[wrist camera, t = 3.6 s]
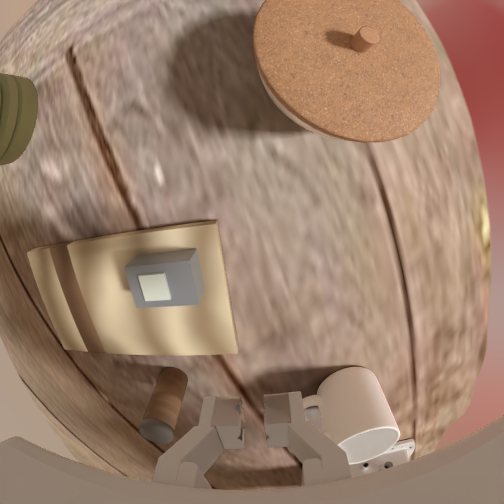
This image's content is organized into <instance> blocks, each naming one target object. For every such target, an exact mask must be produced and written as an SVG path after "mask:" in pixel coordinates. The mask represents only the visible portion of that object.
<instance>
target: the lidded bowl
mask: <svg viewBox="0 0 504 504" xmlns="http://www.w3.org/2000/svg"><path fill="white" fill-rule="evenodd" d="M253 49H254V55H255V60H256V63H257V67H258V72H259V75H260V78H261V81H262V83H263V85H264V87H265V89H266V91H267V93H268V94H269V96H270V98H271V99H272V100H273V102H274V103H275V104H276V106H277V107H278V108H279V109H280V110H281V111H282V112H283V113H284V114H285V115H286V116H287V117H289V118H290V119H291V120H293V121H294V122H295V123H296V124H298V125H300V126H302V127H303V128H305V129H307V130H309V131H311V132H314V133H316V134H318V135H321V136H325V137H329V138H332V139H336V140H344V141H355V142H384V141H389V140H395V139H397V138H400V137H403V136H405V135H407V134H409V133H411V132H412V131H414V130H415V129H417V128H418V127H419V126H420V125H421V124H422V123H423V122H424V121H425V120H426V119H427V118H428V116H429V115H430V113H431V112H432V110H433V108H434V105H435V103H436V101H437V97H438V93H439V87H440V71H439V63H438V59H437V55H436V52H435V49H434V47H433V44H432V42H431V40H430V38H429V36H428V34H427V33H426V31H425V29H424V28H423V26H422V25H421V24H420V22H419V21H418V19H417V18H416V17H415V16H414V15H413V14H412V13H411V12H410V11H409V10H408V9H407V8H406V7H405V6H404V5H403V4H402V3H401V2H399V1H398V0H265V1H264V3H263V4H262V5H261V7H260V9H259V11H258V13H257V15H256V19H255V23H254V27H253Z"/></svg>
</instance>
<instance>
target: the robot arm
mask: <svg viewBox="0 0 504 504" xmlns="http://www.w3.org/2000/svg"><path fill="white" fill-rule="evenodd" d="M264 409H265V410H264V427H265V434H266V440H267V445H268V447H286V446H288V447H289V448H290V449H291V451H292V452H293V453H294V454H295V455H296V456H297V458H298V459H299V460H300V461H301V462H302V463H303V466H302V481H301V486H300V487H291V488H279V489H260V490H223V489H212V487H211V485H210V484H209V483H208V481H207V480H206V478H205V476H204V474H205V473H206V472H207V471H208V469H209V468H210V467H211V466H212V465H213V463H214V462H215V461H216V460H217V458H218V457H219V456H220V455H221V454H222V452H223V451H224V449H244V443H245V435H244V431H243V430H244V429H245V411H244V408H243V407H242V399H241V397H204V399H203V403H202V408H201V413H200V418H199V423H198V426H194V427H193V428H192V429H191V430H190V431H189V432H187V433H186V434H185V435H184V436H183V437H182V438H181V439H180V440H179V441H177V442H176V443H175V444H174V445H173V446H172V447H171V448H169V449H168V450H167V451H166V452H165V453H164V454H162V455H161V456H160V457H159V458H158V462H157V465H156V469H155V472H154V476H153V480H152V482H150V481H145V480H140V479H135V478H131V477H127V476H122V475H119V474H115V473H111V472H107V471H104V470H100V469H97V468H94V467H91V466H88V465H85V464H82V463H79V462H76V461H73V460H70V459H68V458H65V457H63V456H60V455H58V454H55V453H53V452H50V451H48V450H46V449H43V448H41V447H39V446H37V445H35V444H33V443H31V442H29V441H27V440H25V439H23V438H21V437H17V436H15V437H12V438H9V439H7V440H5V441H3V442H1V443H0V504H504V415H503V416H501V417H500V418H498V419H497V420H495V421H494V422H492V423H490V424H488V425H487V426H485V427H483V428H482V429H480V430H478V431H476V432H475V433H472V434H471V435H469V436H467V437H465V438H463V439H461V440H459V441H457V442H455V443H453V444H450V445H449V446H446V447H444V448H442V449H439V450H437V451H435V452H432V453H430V454H427V455H425V456H422V457H420V458H417V459H414V460H412V461H409V457H410V456H411V454H412V453H413V451H414V448H415V442H414V440H413V439H408V440H404V441H399V442H396V443H395V444H394V445H393V446H392V447H391V448H390V449H389V450H387V451H386V452H384V453H383V454H381V455H379V456H377V457H375V458H373V459H370V460H368V461H365V462H361V463H357V464H351V465H349V463H348V459H347V455H346V452H345V451H344V450H343V449H341V448H340V447H339V446H338V445H337V444H335V443H334V442H333V441H332V440H331V439H329V438H328V437H327V436H326V435H325V434H324V433H322V432H321V431H320V430H319V429H318V428H317V427H316V426H314V425H313V424H312V423H311V422H310V421H306V420H305V414H304V407H303V401H302V395H301V392H300V391H297V392H289V393H288V392H287V393H278V394H268V395H264Z"/></svg>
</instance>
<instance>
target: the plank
mask: <svg viewBox="0 0 504 504" xmlns="http://www.w3.org/2000/svg"><path fill="white" fill-rule="evenodd" d="M196 248H197V251H198V256H199V261H200V267H201V272H202V277H203V282H204V287H205V290H204V292H203V295H202V298H201V301H200V303H199V305H187V306H169V307H149V308H136V305H135V302H134V299H133V296H132V293H131V289H130V286H129V283H128V279H127V276H126V272H125V268H124V267H125V266H126V265H127V264H128V263H129V262H130V261H131V260H132V259H133V258H135V257H136V256H137V255H142V254H151V253H160V252H169V251H178V250H187V249H196ZM27 256H28V259H29V262H30V266H31V269H32V272H33V275H34V278H35V281H36V284H37V286H38V289H39V292H40V295H41V297H42V300H43V302H44V305H45V307H46V310H47V312H48V315H49V317H50V319H51V322H52V324H53V326H54V328H55V330H56V333H57V335H58V337H59V339H60V341H61V343H62V345H63V347H64V349H65V350H74V351H84V352H96V353H110V354H129V355H215V354H235V353H238V347H239V344H238V338H237V333H236V327H235V322H234V316H233V310H232V304H231V298H230V293H229V287H228V281H227V275H226V268H225V262H224V256H223V249H222V243H221V237H220V230H219V223H218V220H213V221H205V222H197V223H189V224H182V225H174V226H167V227H160V228H153V229H146V230H139V231H132V232H126V233H119V234H113V235H107V236H101V237H95V238H89V239H83V240H77V241H71V242H66V243H60V244H55V245H49V246H44V247H39V248H34V249H32V250H30V251H28V252H27Z"/></svg>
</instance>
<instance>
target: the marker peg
mask: <svg viewBox="0 0 504 504" xmlns="http://www.w3.org/2000/svg"><path fill="white" fill-rule="evenodd" d="M187 382H188V377H187V375H186V374H185V373H184V372H183V371H181V370H180V369H177V368H174V367H167V368H164V369H163V370H162V371H161V373H160V376H159V378H158V381H157V384H156V386H155V389H154V391H153V394H152V396H151V399H150V402H149V404H148V407H147V410H146V412H145V415H144V418H143V420H142V422H141V424H140V427H139V432H140V434H141V435H142V436H143V437H145V438H146V439H148V440H150V441H152V442H155V443H158V444H169V443H171V442H172V440H173V436H174V431H175V427H176V423H177V419H178V415H179V412H180V408H181V404H182V401H183V397H184V393H185V390H186V386H187Z"/></svg>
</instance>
